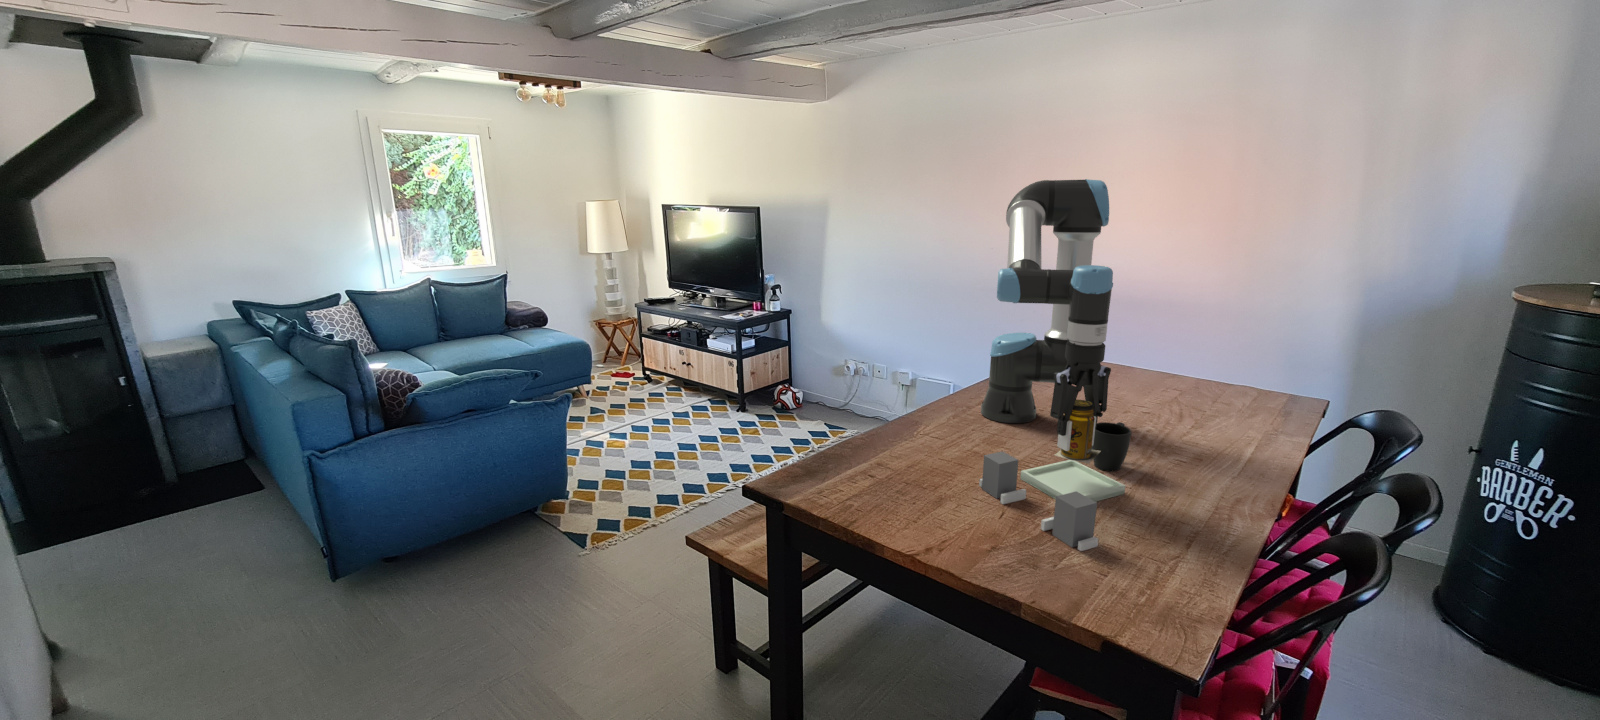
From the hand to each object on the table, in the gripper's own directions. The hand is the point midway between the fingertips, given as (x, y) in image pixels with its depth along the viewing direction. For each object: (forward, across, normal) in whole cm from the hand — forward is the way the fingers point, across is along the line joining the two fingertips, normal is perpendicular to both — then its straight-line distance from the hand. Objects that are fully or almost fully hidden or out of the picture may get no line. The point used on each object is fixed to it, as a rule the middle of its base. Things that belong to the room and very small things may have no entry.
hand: (1075, 445), depth 142 cm
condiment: (+2, +1, 0) cm, 2 cm away
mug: (+10, +17, +5) cm, 20 cm away
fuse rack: (+10, -16, -6) cm, 19 cm away
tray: (+10, 0, 0) cm, 10 cm away
